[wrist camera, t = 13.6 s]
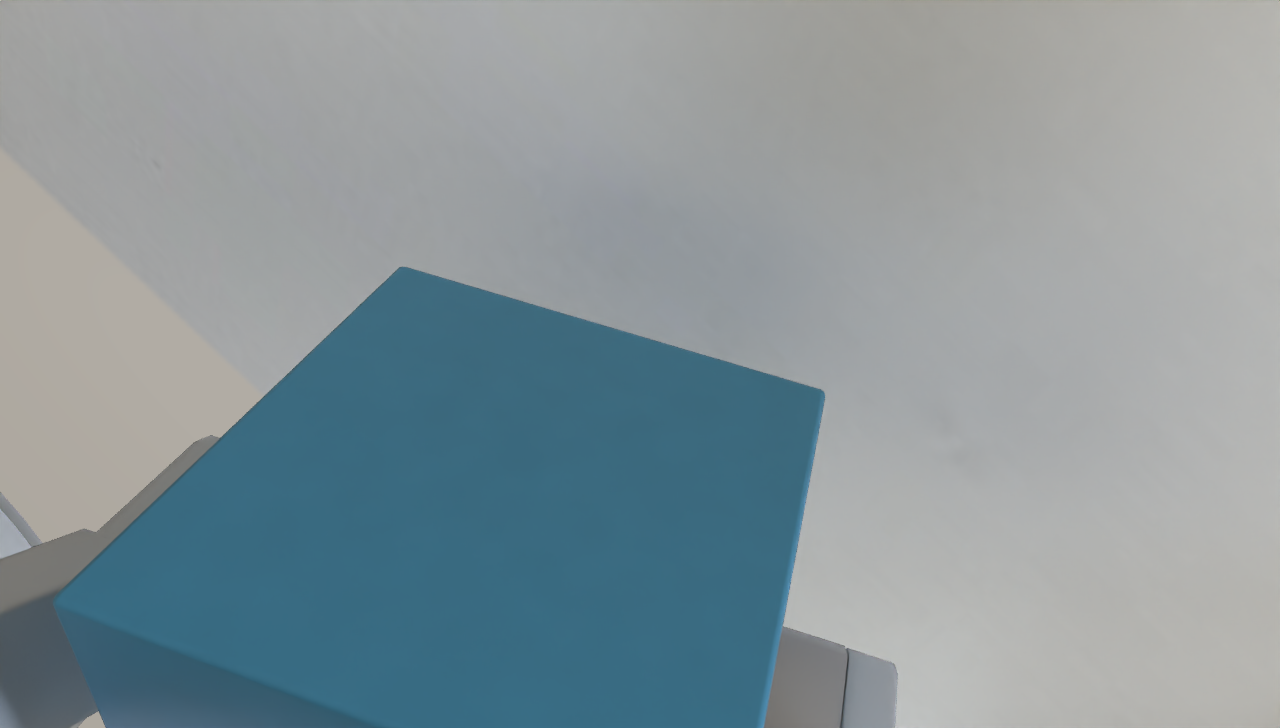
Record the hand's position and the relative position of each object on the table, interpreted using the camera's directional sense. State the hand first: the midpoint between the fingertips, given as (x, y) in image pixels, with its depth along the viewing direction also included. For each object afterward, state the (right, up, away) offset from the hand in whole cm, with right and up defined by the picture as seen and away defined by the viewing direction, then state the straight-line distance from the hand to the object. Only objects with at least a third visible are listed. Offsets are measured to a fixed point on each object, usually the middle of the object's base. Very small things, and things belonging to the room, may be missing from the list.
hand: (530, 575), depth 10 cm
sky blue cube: (0, +1, +1) cm, 2 cm away
